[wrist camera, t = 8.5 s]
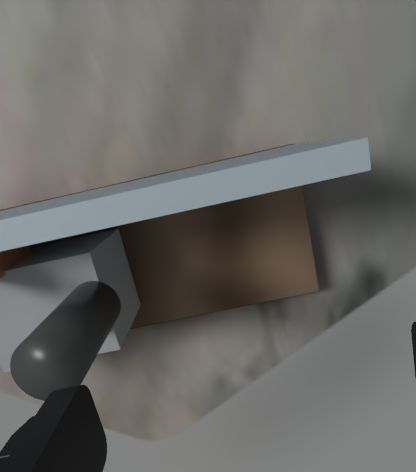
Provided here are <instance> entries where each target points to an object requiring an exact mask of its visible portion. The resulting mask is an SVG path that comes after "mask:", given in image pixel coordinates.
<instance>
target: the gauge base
mask: <svg viewBox="0 0 416 472" xmlns="http://www.w3.org/2000/svg"><path fill="white" fill-rule="evenodd" d="M290 145H293V144H290ZM285 146H289V145H285ZM285 146H281V147H285ZM277 148H280V147H277ZM272 149H276V148H272ZM268 150H271V149H268ZM263 151H267V150H263ZM263 151H259V152H263ZM255 153H258V152H255ZM250 154H254V153H250ZM246 155H249V154H246ZM241 156H245V155H241ZM241 156H237V157H241ZM232 158H236V157H232ZM232 158H228V159H232ZM224 160H227V159H224ZM219 161H223V160H219ZM215 162H218V161H215ZM210 163H214V162H210ZM210 163H206V164H210ZM202 165H205V164H202ZM197 166H201V165H197ZM193 167H196V166H193ZM188 168H192V167H188ZM188 168H184V169H188ZM180 170H183V169H180ZM175 171H179V170H175ZM171 172H174V171H171ZM166 173H170V172H166ZM166 173H162V174H166ZM158 175H161V174H158ZM153 176H157V175H153ZM149 177H152V176H149ZM144 178H148V177H144ZM144 178H140V179H144ZM136 180H139V179H136ZM131 181H135V180H131ZM127 182H130V181H127ZM122 183H126V182H122ZM118 184H121V183H118ZM114 185H117V184H114ZM109 186H113V185H109ZM105 187H108V186H105ZM100 188H104V187H100ZM96 189H99V188H96ZM91 190H95V189H91ZM91 190H87V191H91ZM83 192H86V191H83ZM78 193H82V192H78ZM74 194H77V193H74ZM69 195H73V194H69ZM69 195H65V196H69ZM61 197H64V196H61ZM56 198H60V197H56ZM52 199H55V198H52ZM47 200H51V199H47ZM47 200H43V201H47ZM39 202H42V201H39ZM34 203H38V202H34ZM30 204H33V203H30ZM25 205H29V204H25ZM21 206H24V205H21ZM17 207H20V206H17ZM12 208H16V207H12ZM8 209H11V208H8ZM3 210H7V209H3ZM0 211H2V210H0ZM114 229H119V232H120V235H121V239H122V242H123V246H124V249H125V253H126V256H127V260H128V263H129V266H130V270H131V273H132V277H133V280H134V284H135V287H136V290H137V294H138V297H139V301H140V304H141V305H140V308H139V310H138V312H137V314H136V316H135V319H134V321H133V323H132V325H131V327H130V329H132V328H137V327H142V326H147V325H152V324H157V323H162V322H167V321H172V320H177V319H182V318H187V317H192V316H197V315H202V314H207V313H212V312H217V311H222V310H227V309H232V308H237V307H242V306H247V305H252V304H257V303H262V302H267V301H272V300H277V299H282V298H287V297H292V296H297V295H301V294H306V293H311V292H316V291H319V287H318V281H317V275H316V268H315V262H314V255H313V249H312V243H311V236H310V230H309V223H308V217H307V211H306V204H305V198H304V192H303V185H301V186H297V187H292V188H288V189H283V190H278V191H274V192H269V193H265V194H260V195H256V196H251V197H247V198H242V199H237V200H233V201H228V202H224V203H219V204H215V205H210V206H206V207H201V208H196V209H192V210H187V211H183V212H178V213H174V214H169V215H165V216H160V217H155V218H151V219H146V220H142V221H137V222H133V223H128V224H124V225H119V226H114V227H110V228H105V229H101V230H96V231H92V232H87V233H83V234H78V235H73V236H69V237H64V238H60V239H55V240H51V241H46V242H42V243H37V244H32V245H29V247H30V248H32V247H36V246H41V245H46V244H50V243H55V242H59V241H64V240H68V239H73V238H78V237H82V236H87V235H91V234H96V233H100V232H105V231H109V230H114Z"/></svg>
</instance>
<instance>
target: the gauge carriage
mask: <svg viewBox="0 0 416 472" xmlns="http://www.w3.org/2000/svg"><path fill="white" fill-rule="evenodd" d="M140 305H141V304H140V301H139V297H138V294H137V290H136V287H135V284H134V280H133V277H132V273H131V270H130V266H129V263H128V260H127V256H126V253H125V249H124V246H123V242H122V239H121V235H120V232H119V229H114V230H109V231H105V232H100V233H96V234H91V235H87V236H82V237H78V238H73V239H68V240H64V241H59V242H55V243H50V244H46V245H41V246H36V247H32V248H30V247H29V245H28V246H23V247H19V248H14V249H10V250H5V251H1V252H0V366H1V368H2V371H3V373H5V372H10V371H11V374H12V377H13V379H14V381H15V382H16V384H17V385H18V386H19V387H20V388H21V389H22V390H23V391H24V392H25V393H27V394H28V395H30V396H32V397H34V398H37V399H40V400H46V399H47V397H48V396H49V394H50V393H51V392H52V391H54V390H59V389H64V388H70V387H75V386H80V385H81V383H82V381H83V379H84V377H85V376H86V374H87V372H88V370H89V368H90V367H91V365H92V363H93V361H94V359H95V358H96V356H97V354H101V353H106V352H111V351H116V350H120V349H121V347H122V345H123V343H124V341H125V338H126V336H127V334H128V332H129V330H130V327H131V325H132V323H133V321H134V319H135V316H136V314H137V312H138V310H139V308H140Z"/></svg>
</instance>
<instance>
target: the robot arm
mask: <svg viewBox="0 0 416 472" xmlns="http://www.w3.org/2000/svg"><path fill="white" fill-rule="evenodd" d="M411 332H412V344H413V355H414V365H415V377H416V322H414V323H413V325H412V330H411ZM106 455H107V443H106V436H105V433H104V430H103V427H102V424H101V421H100V418H99V415H98V413H97V410H96V407H95V404H94V401H93V398H92V396H91V393H90V390H89V389H88V387H87V386H85V385H80V386H75V387H70V388H64V389H59V390H54V391H52V392H51V393H50V394H49V396H48V397H47V399H46V400H45V402H44V403H43V405H42V406H41V408H40V409H39V411H38V413H37V414H36V415H35V416H33V417H31V418H30V419H29V420H28V421H27V422H26V423H25V424H24V425H23V426H21V427H20V428H19V429H18V430H17V431H16V432H15V433H14V434H13V435H12V436H11V437H10V439H9V440H8V442H7V443H6V444H5V446H4V447H3V449H2V450H1V452H0V472H102V471H103V468H104V465H105V462H106Z"/></svg>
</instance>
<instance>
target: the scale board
mask: <svg viewBox="0 0 416 472" xmlns="http://www.w3.org/2000/svg"><path fill="white" fill-rule="evenodd" d="M370 170H371V164H370V155H369V146H368V137H367V138H356V139H345V140H334V141H323V142H312V143H301V144H293V145H289V146H285V147H280V148H276V149H271V150H267V151H263V152H258V153H254V154H249V155H245V156H241V157H236V158H232V159H227V160H223V161H218V162H214V163H210V164H205V165H201V166H196V167H192V168H188V169H183V170H179V171H174V172H170V173H166V174H161V175H157V176H152V177H148V178H144V179H139V180H135V181H130V182H126V183H121V184H117V185H113V186H108V187H104V188H99V189H95V190H91V191H86V192H82V193H77V194H73V195H69V196H64V197H60V198H55V199H51V200H47V201H42V202H38V203H33V204H29V205H24V206H20V207H16V208H11V209H7V210H2V211H0V252H1V251H5V250H10V249H14V248H19V247H23V246H28V245H32V244H37V243H42V242H46V241H51V240H55V239H60V238H64V237H69V236H73V235H78V234H83V233H87V232H92V231H96V230H101V229H105V228H110V227H114V226H119V225H124V224H128V223H133V222H137V221H142V220H146V219H151V218H155V217H160V216H165V215H169V214H174V213H178V212H183V211H187V210H192V209H196V208H201V207H206V206H210V205H215V204H219V203H224V202H228V201H233V200H237V199H242V198H247V197H251V196H256V195H260V194H265V193H269V192H274V191H278V190H283V189H288V188H292V187H297V186H301V185H306V184H310V183H315V182H319V181H324V180H329V179H333V178H338V177H342V176H347V175H351V174H356V173H360V172H365V171H370Z"/></svg>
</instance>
